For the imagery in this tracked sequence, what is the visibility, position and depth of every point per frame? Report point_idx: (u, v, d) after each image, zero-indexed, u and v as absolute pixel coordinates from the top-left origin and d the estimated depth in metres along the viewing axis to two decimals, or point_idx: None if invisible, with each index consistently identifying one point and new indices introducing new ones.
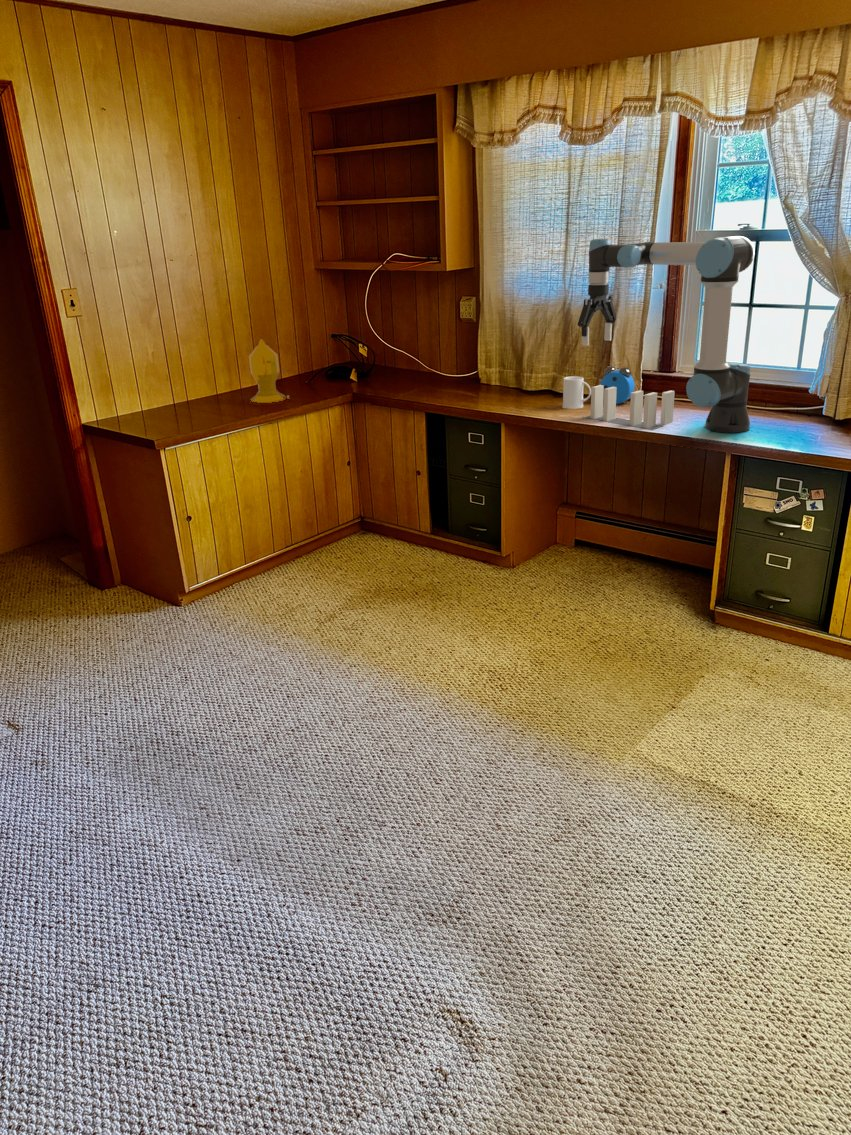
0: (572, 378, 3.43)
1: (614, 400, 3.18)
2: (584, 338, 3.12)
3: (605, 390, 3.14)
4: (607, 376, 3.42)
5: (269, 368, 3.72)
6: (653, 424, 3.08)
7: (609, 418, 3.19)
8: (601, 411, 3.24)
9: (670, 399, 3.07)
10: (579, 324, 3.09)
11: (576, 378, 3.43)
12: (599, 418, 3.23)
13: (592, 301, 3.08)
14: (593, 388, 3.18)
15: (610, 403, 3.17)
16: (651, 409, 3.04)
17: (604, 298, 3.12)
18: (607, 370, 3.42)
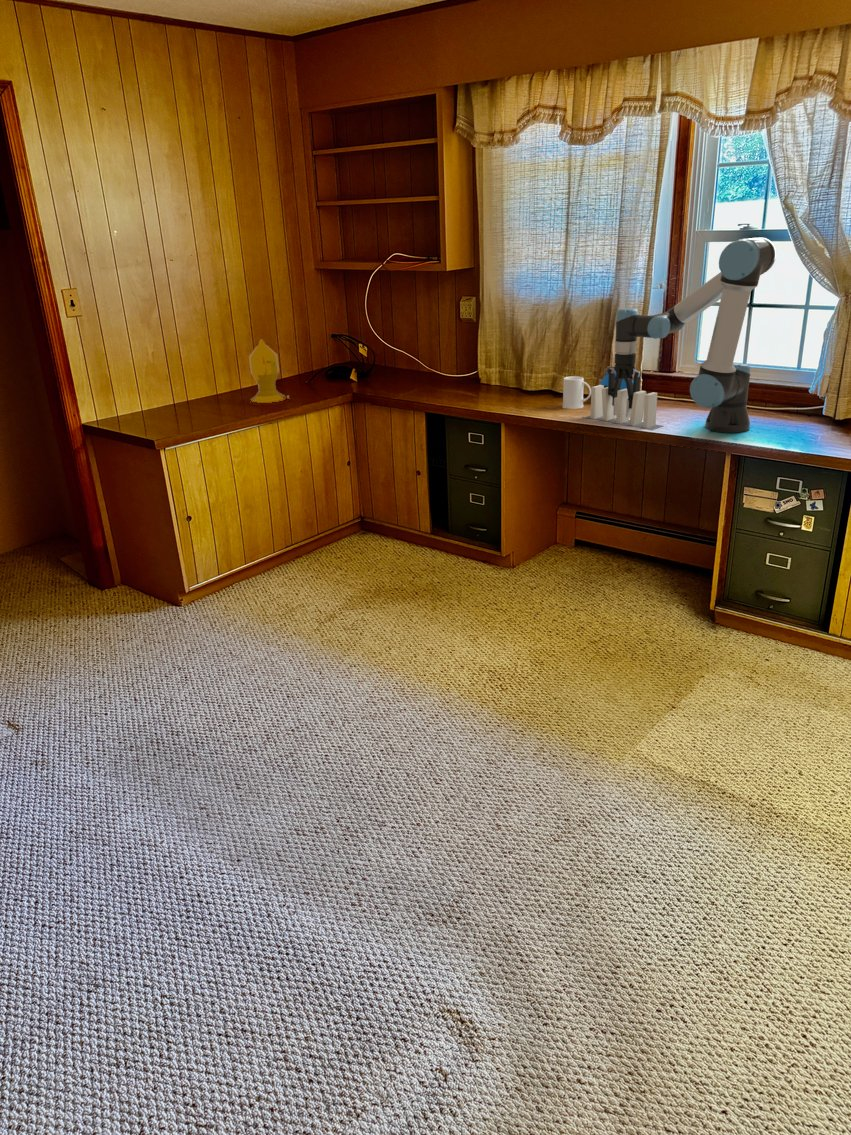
0: (572, 378, 3.43)
1: None
2: None
3: (602, 390, 3.15)
4: (607, 376, 3.42)
5: (269, 368, 3.72)
6: (653, 424, 3.08)
7: (609, 417, 3.19)
8: (601, 411, 3.24)
9: (625, 397, 3.12)
10: None
11: (576, 378, 3.43)
12: (599, 418, 3.23)
13: (614, 369, 3.11)
14: (593, 388, 3.18)
15: (608, 403, 3.17)
16: (651, 409, 3.04)
17: (628, 367, 3.06)
18: (607, 370, 3.42)
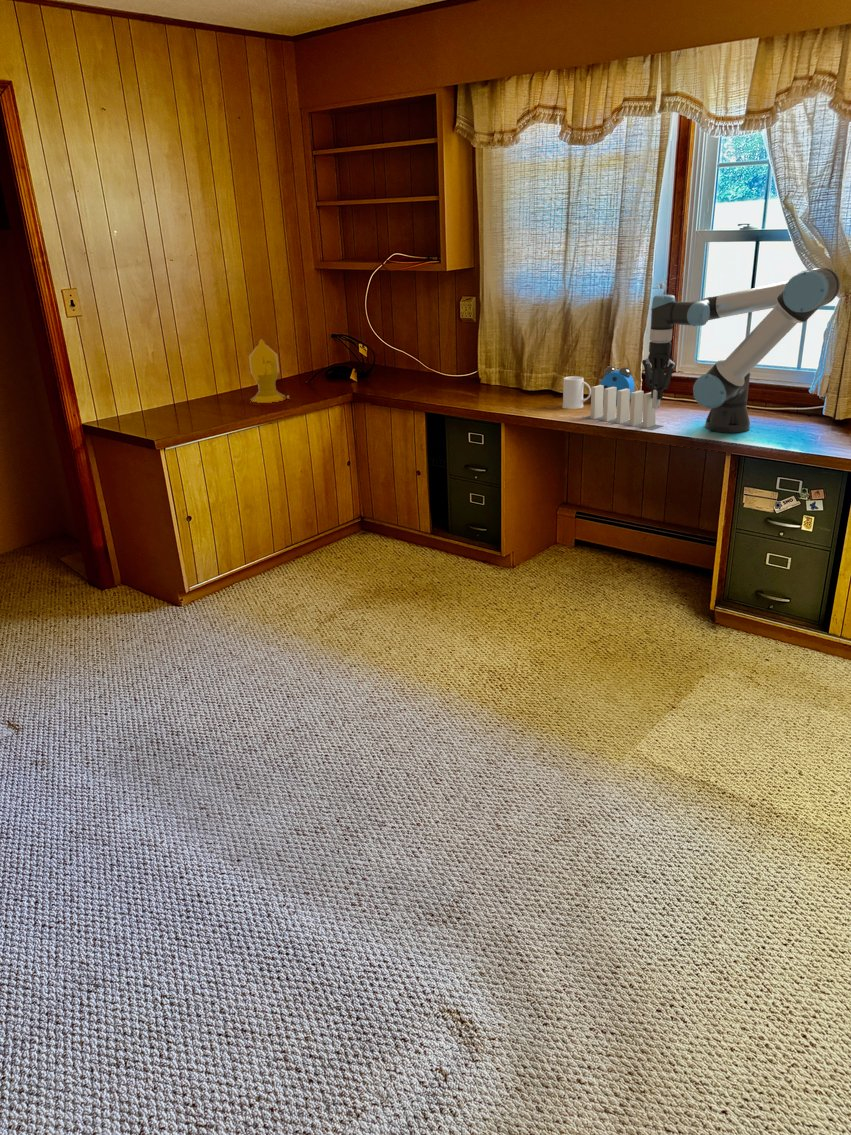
0: (572, 378, 3.43)
1: (614, 400, 3.18)
2: None
3: (605, 390, 3.14)
4: (607, 376, 3.42)
5: (269, 368, 3.72)
6: (653, 424, 3.08)
7: (609, 418, 3.19)
8: (601, 411, 3.24)
9: (625, 397, 3.12)
10: None
11: (576, 378, 3.43)
12: (599, 418, 3.23)
13: (648, 359, 2.99)
14: (593, 388, 3.18)
15: (610, 403, 3.17)
16: (650, 408, 3.04)
17: (664, 356, 2.93)
18: (607, 370, 3.42)
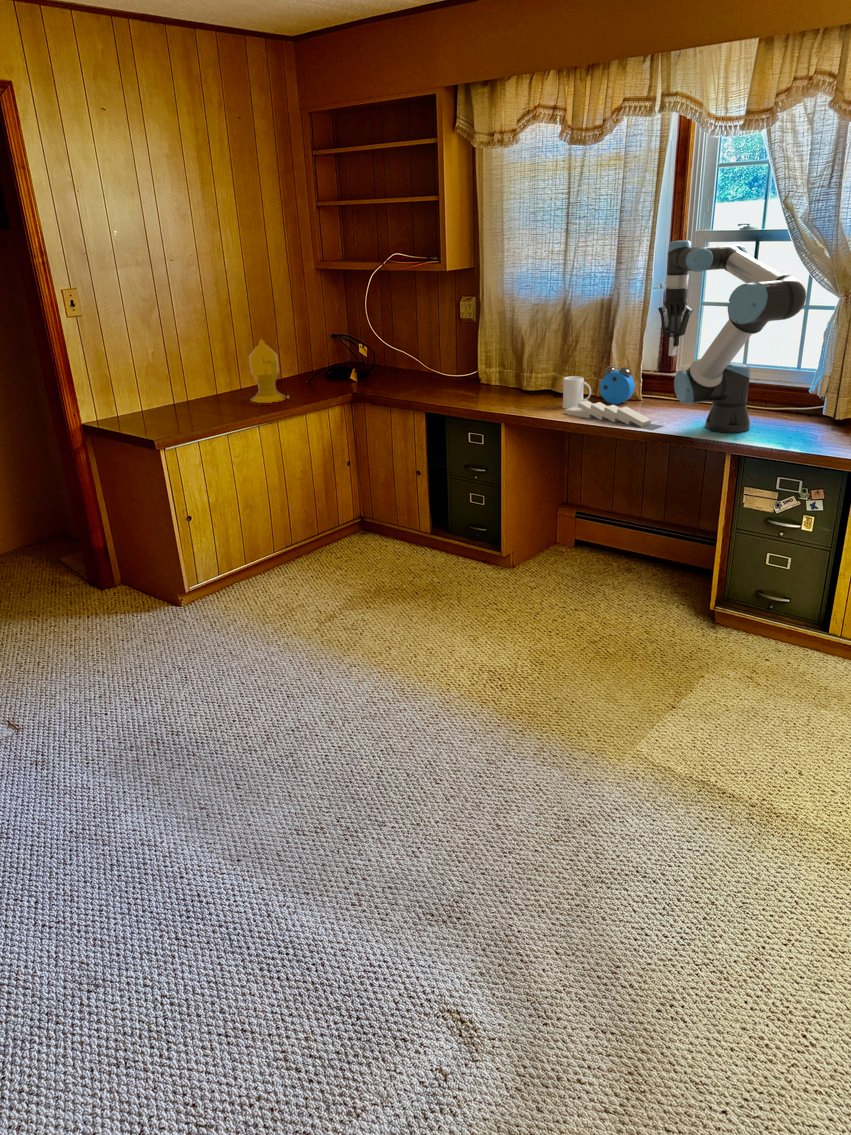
0: (572, 378, 3.43)
1: None
2: None
3: (578, 405, 3.26)
4: (607, 376, 3.42)
5: (269, 368, 3.72)
6: (648, 419, 3.09)
7: None
8: None
9: (601, 406, 3.22)
10: None
11: (576, 378, 3.43)
12: None
13: (665, 306, 3.01)
14: (566, 411, 3.32)
15: None
16: (632, 413, 3.11)
17: (681, 302, 2.95)
18: (607, 370, 3.42)
